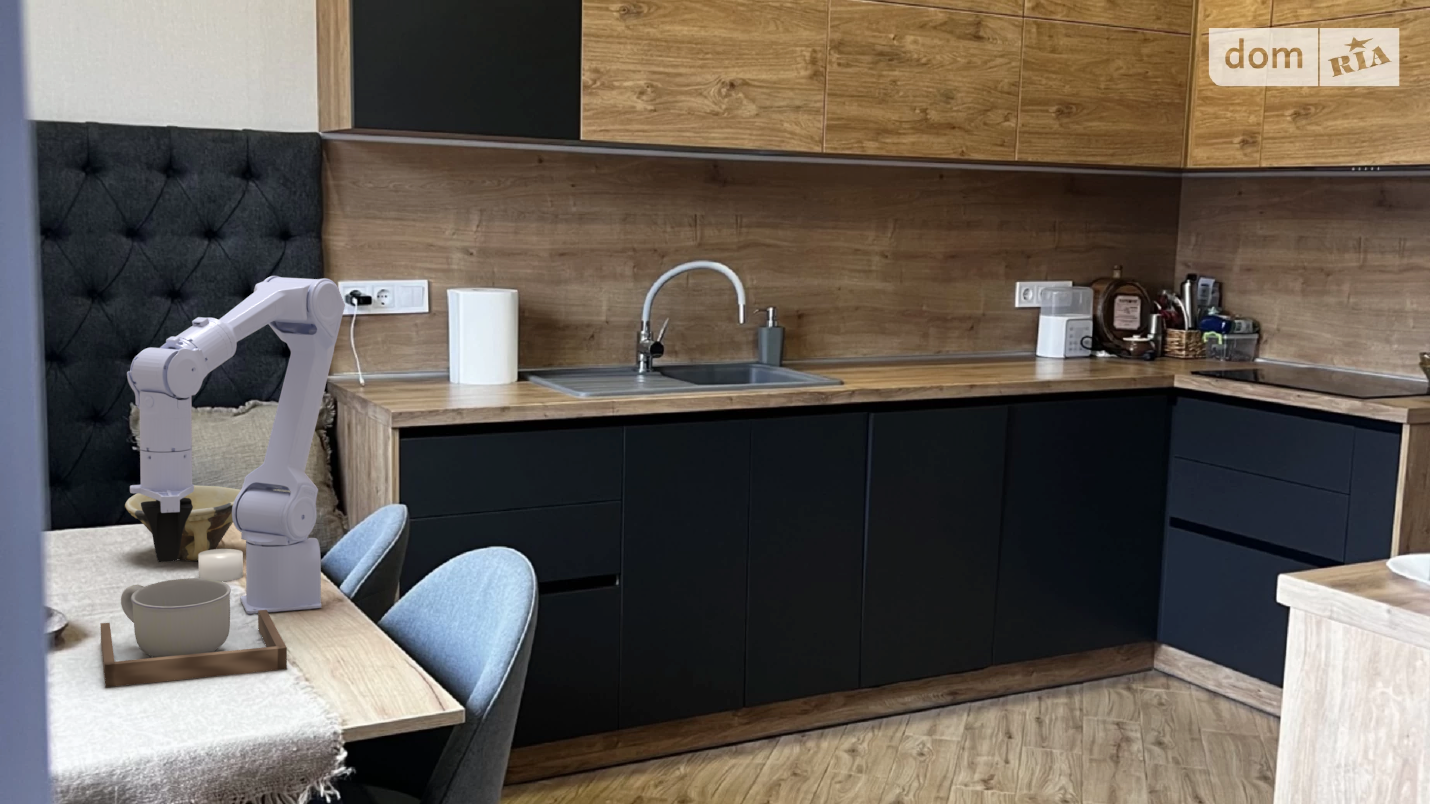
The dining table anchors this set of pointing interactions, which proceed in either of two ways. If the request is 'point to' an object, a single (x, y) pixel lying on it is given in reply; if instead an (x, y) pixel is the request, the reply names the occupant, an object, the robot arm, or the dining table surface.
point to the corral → (195, 660)
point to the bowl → (197, 518)
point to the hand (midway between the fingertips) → (167, 560)
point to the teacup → (179, 616)
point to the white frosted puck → (221, 564)
